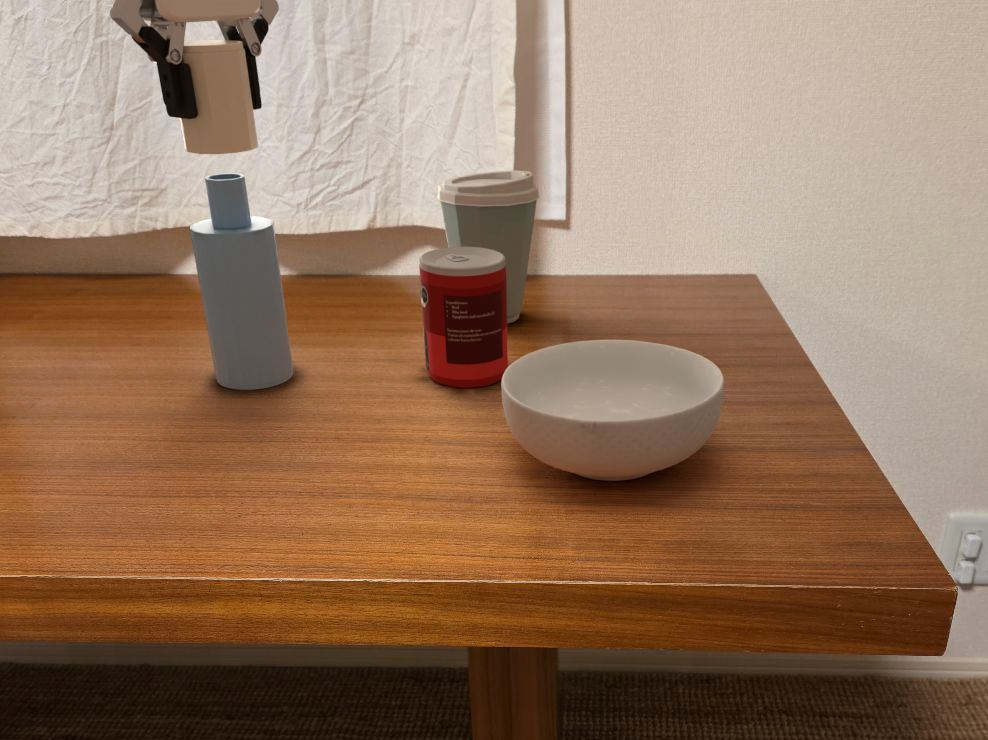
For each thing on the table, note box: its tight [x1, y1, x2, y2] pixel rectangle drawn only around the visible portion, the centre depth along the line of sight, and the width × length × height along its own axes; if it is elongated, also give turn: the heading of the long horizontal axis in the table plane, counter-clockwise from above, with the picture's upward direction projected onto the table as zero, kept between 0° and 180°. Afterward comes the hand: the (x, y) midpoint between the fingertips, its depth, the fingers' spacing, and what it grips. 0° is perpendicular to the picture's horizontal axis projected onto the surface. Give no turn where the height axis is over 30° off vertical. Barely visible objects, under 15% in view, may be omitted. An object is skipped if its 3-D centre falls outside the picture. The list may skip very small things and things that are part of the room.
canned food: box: [418, 247, 509, 389], centre depth 93 cm, size 8×8×11 cm
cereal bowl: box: [500, 339, 725, 482], centre depth 77 cm, size 17×17×7 cm
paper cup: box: [179, 39, 259, 155], centre depth 83 cm, size 6×6×8 cm
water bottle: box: [189, 172, 294, 391], centre depth 91 cm, size 7×7×18 cm
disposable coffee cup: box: [436, 170, 540, 324], centre depth 107 cm, size 11×11×15 cm
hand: (215, 110), depth 83 cm, fingers closed on paper cup, 5 cm apart
